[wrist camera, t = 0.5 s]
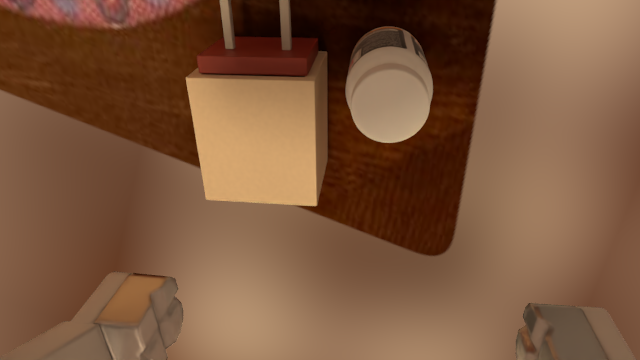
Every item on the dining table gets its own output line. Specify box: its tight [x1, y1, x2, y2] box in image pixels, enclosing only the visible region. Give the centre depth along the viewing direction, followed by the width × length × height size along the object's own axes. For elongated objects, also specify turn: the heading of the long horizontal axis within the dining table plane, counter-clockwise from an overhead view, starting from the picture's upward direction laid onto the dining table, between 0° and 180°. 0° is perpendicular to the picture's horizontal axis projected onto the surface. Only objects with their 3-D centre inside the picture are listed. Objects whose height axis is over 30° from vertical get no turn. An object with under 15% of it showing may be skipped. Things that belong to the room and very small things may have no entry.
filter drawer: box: [197, 0, 318, 77], centre depth 32 cm, size 13×7×6 cm, turn 1°
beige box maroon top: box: [186, 51, 328, 206], centre depth 34 cm, size 10×9×8 cm
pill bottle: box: [345, 26, 433, 143], centre depth 30 cm, size 6×6×10 cm
